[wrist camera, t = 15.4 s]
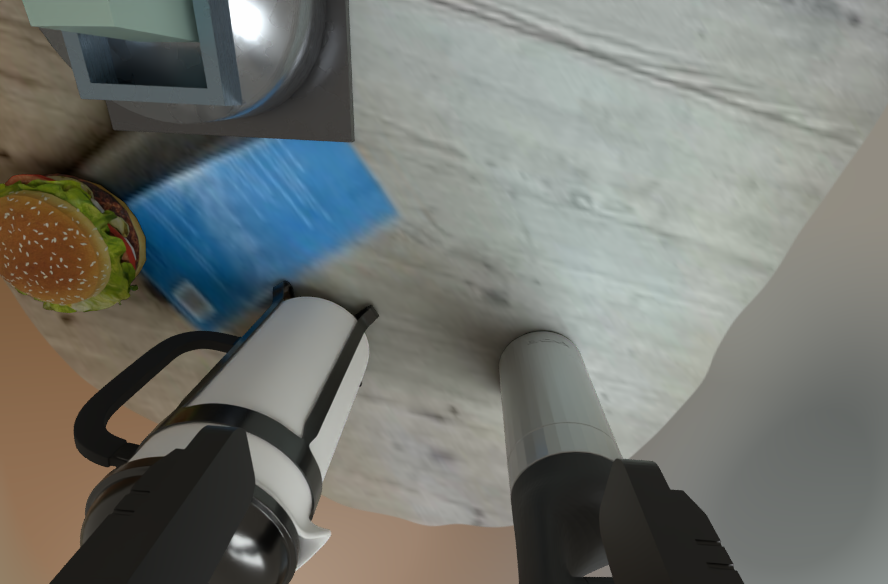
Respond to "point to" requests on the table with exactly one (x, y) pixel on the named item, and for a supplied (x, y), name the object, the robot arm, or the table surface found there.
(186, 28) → the sage green stepped block
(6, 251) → the food
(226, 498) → the robot arm
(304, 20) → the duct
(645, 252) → the table surface
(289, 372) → the coffee press
